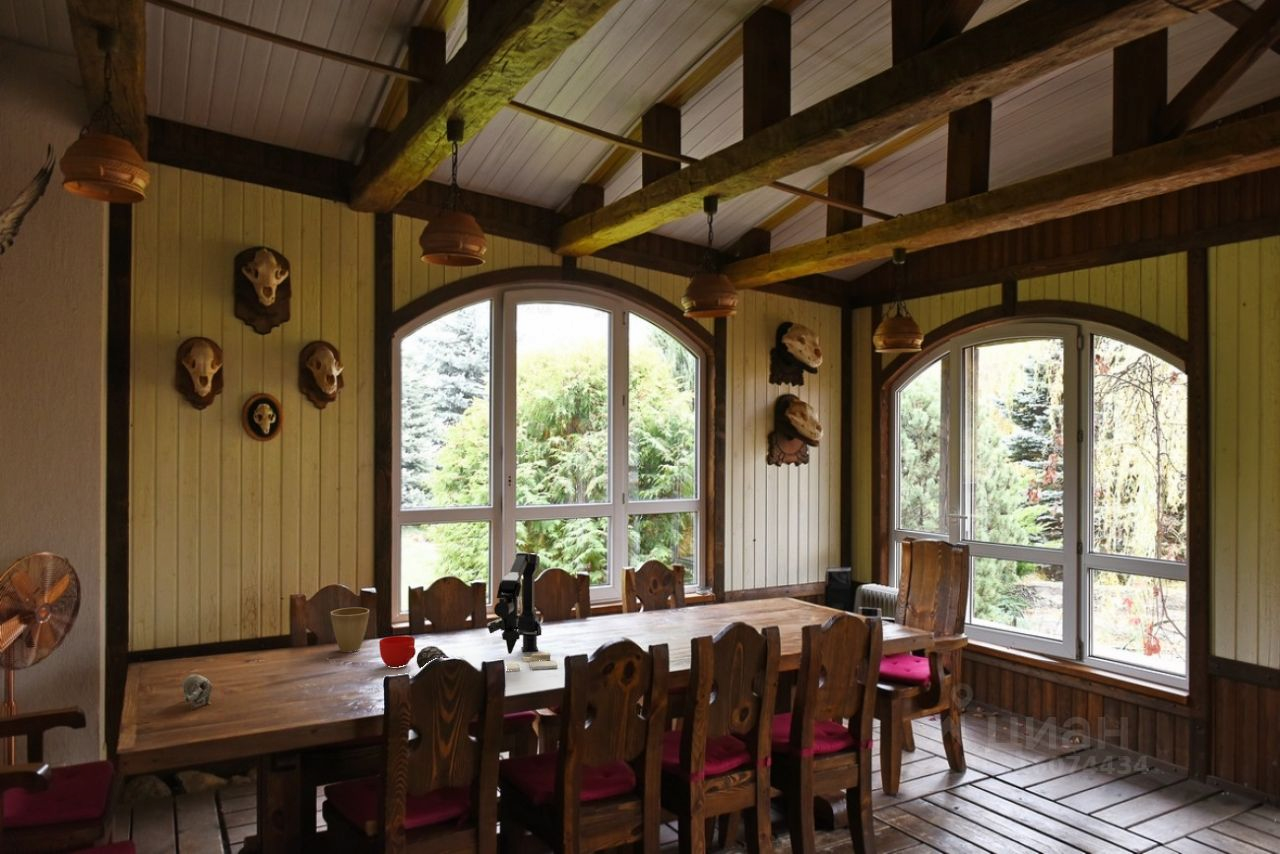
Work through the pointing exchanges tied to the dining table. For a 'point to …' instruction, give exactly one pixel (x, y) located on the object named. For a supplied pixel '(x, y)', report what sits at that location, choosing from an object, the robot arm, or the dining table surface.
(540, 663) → the rest
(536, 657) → the beige flat block
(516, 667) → the tile
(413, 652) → the ceramic cup
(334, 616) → the plant pot
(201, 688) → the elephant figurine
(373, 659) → the dining table surface
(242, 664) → the dining table surface
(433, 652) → the pine cone
